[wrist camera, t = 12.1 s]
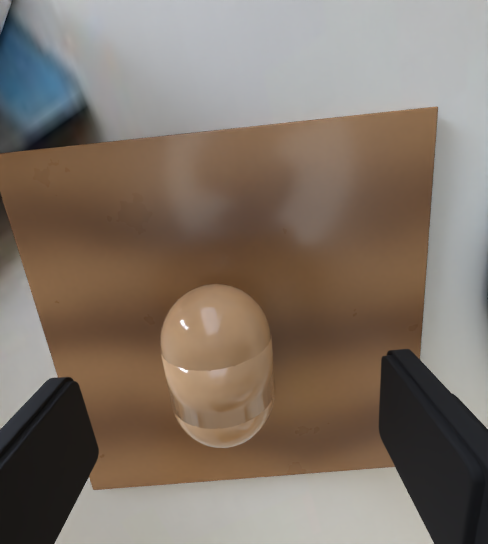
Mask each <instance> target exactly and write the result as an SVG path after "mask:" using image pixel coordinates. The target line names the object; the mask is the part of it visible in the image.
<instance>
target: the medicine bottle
mask: <svg viewBox="0 0 488 544" xmlns="http://www.w3.org/2000/svg"><path fill="white" fill-rule="evenodd" d="M11 2H12V0H0V35H1V32H2V29H3V26H4V23H5V20H6V17H7V14H8V11H9V8H10V5H11Z"/></svg>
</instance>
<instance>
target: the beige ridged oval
mask: <svg viewBox="0 0 488 544" xmlns="http://www.w3.org/2000/svg"><path fill="white" fill-rule="evenodd" d="M160 348H161V356H162V361H163V366H164V371H165V377H166V382H167V387H168V392H169V397H170V402H171V407H172V410H173V413H174V415H175V418H176V420H177V422H178V423H179V425H180V426H181V428H182V429H183V430H184V432H185V433H186V434H187V435H188V436H190V437H191V438H192V439H194V440H195V441H197V442H198V443H200V444H203V445H205V446H209V447H213V448H231V447H235V446H238V445H241V444H243V443H245V442H247V441H248V440H250V439H251V438H253V437H254V436H255V435H256V434H258V433H259V431H260V430H261V429H262V428H263V427H264V425H265V423H266V422H267V420H268V419H269V417H270V415H271V412H272V409H273V405H274V402H275V375H274V363H273V350H272V338H271V330H270V325H269V322H268V319H267V317H266V315H265V312H264V310H263V309H262V307H261V306H260V305H259V303H258V302H257V301H256V300H255V299H254V298H253V297H252V296H251V295H249V294H248V293H247V292H245V291H243V290H241V289H239V288H238V287H235V286H231V285H227V284H221V283H214V284H206V285H202V286H198V287H196V288H193V289H191V290H190V291H188V292H186V293H185V294H183V295H182V296H181V297H180V298H179V299H178V300H177V301H176V302H175V303H174V304H173V305H172V306H171V308H170V309H169V311H168V312H167V314H166V316H165V319H164V322H163V324H162V327H161V333H160Z"/></svg>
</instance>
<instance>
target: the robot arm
mask: <svg viewBox="0 0 488 544" xmlns="http://www.w3.org/2000/svg"><path fill="white" fill-rule="evenodd" d="M379 434H380V437H381V440H382V442H383V444H384V446H385V448H386V450H387V452H388V454H389V456H390V458H391V460H392V462H393V463H394V465H395V467H396V469H397V471H398V473H399V475H400V477H401V479H402V481H403V483H404V485H405V487H406V489H407V491H408V493H409V495H410V497H411V499H412V501H413V503H414V505H415V507H416V509H417V511H418V513H419V515H420V516H421V518H422V520H423V522H424V524H425V526H426V528H427V530H428V532H429V534H430V536H431V538H432V540H433V542H434V544H488V429H487V428H486V427H485V426H484V425H483V424H482V423H481V422H480V421H479V420H478V419H477V418H476V417H475V415H474V414H473V413H472V412H471V411H470V410H469V409H468V408H467V407H466V406H465V405H464V404H463V403H462V402H461V401H460V400H459V399H458V398H457V397H456V396H455V395H454V394H451V393H450V391H449V390H448V389H447V388H446V387H445V386H444V385H443V384H442V383H441V382H440V381H439V380H438V379H437V378H436V376H435V375H434V374H433V373H432V372H431V371H430V370H429V369H428V368H427V367H426V366H425V365H424V364H423V363H422V361H421V360H420V359H419V358H418V357H417V356H416V355H415V354H414V353H413V352H412V351H411V350H410V349H399V350H389V351H388V352H387V356H382V359H381V379H380V403H379ZM98 455H99V448H98V444H97V441H96V438H95V435H94V431H93V428H92V425H91V422H90V419H89V415H88V412H87V409H86V406H85V402H84V399H83V396H82V393H81V389H80V386H79V384H78V382H76V381H74V380H73V379H72V378H71V377H61V378H51V379H49V380H47V381H46V382H45V383H44V384H43V385H42V386H41V387H40V389H39V390H38V391H37V392H36V393H35V394H34V395H33V396H32V397H31V398H30V399H29V400H28V401H27V402H26V403H25V404H24V405H23V406H22V407H21V408H20V410H19V411H18V412H17V413H16V414H15V415H14V416H13V417H12V418H11V419H10V420H9V421H8V422H7V423H6V424H5V425H4V426H3V427H2V428H1V429H0V544H54V543H55V541H56V539H57V538H58V536H59V534H60V532H61V530H62V528H63V526H64V524H65V522H66V520H67V518H68V516H69V514H70V512H71V510H72V508H73V506H74V504H75V503H76V501H77V499H78V497H79V495H80V493H81V491H82V489H83V487H84V485H85V483H86V481H87V479H88V477H89V475H90V473H91V471H92V469H93V468H94V466H95V464H96V462H97V459H98Z"/></svg>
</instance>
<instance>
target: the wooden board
mask: <svg viewBox="0 0 488 544" xmlns="http://www.w3.org/2000/svg"><path fill="white" fill-rule="evenodd" d="M437 114H438V107H429V108H419V109H410V110H401V111H391V112H382V113H373V114H363V115H354V116H345V117H335V118H326V119H317V120H307V121H298V122H289V123H279V124H270V125H261V126H251V127H242V128H233V129H223V130H214V131H205V132H195V133H186V134H177V135H167V136H158V137H149V138H139V139H130V140H121V141H111V142H102V143H92V144H83V145H74V146H64V147H55V148H46V149H36V150H27V151H18V152H8V153H0V193H1V196H2V199H3V202H4V206H5V209H6V212H7V215H8V218H9V222H10V225H11V228H12V231H13V234H14V238H15V241H16V244H17V247H18V250H19V254H20V257H21V260H22V263H23V266H24V270H25V273H26V276H27V279H28V282H29V286H30V289H31V292H32V295H33V298H34V302H35V305H36V308H37V311H38V314H39V318H40V321H41V324H42V327H43V330H44V334H45V337H46V340H47V343H48V346H49V350H50V353H51V356H52V359H53V362H54V366H55V369H56V372H57V375H58V378H61V377H71V378H72V379H73V380H74V381H76V382H78V384H79V386H80V389H81V393H82V396H83V399H84V402H85V406H86V409H87V412H88V415H89V419H90V422H91V425H92V428H93V431H94V435H95V438H96V441H97V444H98V448H99V455H98V459H97V462H96V464H95V466H94V468H93V469H92V471H91V473H90V475H89V478H90V481H91V484H92V487H93V490H101V489H113V488H126V487H139V486H152V485H165V484H178V483H191V482H204V481H217V480H230V479H243V478H256V477H269V476H281V475H294V474H307V473H320V472H333V471H346V470H359V469H372V468H385V467H395V465H394V463H393V462H392V460H391V458H390V456H389V454H388V452H387V450H386V448H385V446H384V444H383V442H382V440H381V437H380V434H379V403H380V379H381V359H382V356H387V352H388V351H389V350H399V349H410V350H411V351H412V352H413V353H414V354H415V355H416V356H417V357H418V358H419V359H420V351H421V337H422V323H423V309H424V295H425V281H426V267H427V253H428V239H429V226H430V212H431V198H432V184H433V170H434V156H435V142H436V128H437ZM214 283H221V284H227V285H231V286H235V287H238V288H239V289H241V290H243V291H245V292H247V293H248V294H249V295H251V296H252V297H253V298H254V299H255V300H256V301H257V302H258V303H259V305H260V306H261V307H262V309H263V310H264V312H265V315H266V317H267V319H268V322H269V325H270V330H271V338H272V350H273V363H274V375H275V402H274V405H273V409H272V412H271V415H270V417H269V419H268V420H267V422H266V423H265V425H264V427H263V428H262V429H261V430H260V431H259V433H258V434H256V435H255V436H254V437H253V438H251V439H250V440H248V441H247V442H245V443H243V444H241V445H238V446H235V447H231V448H213V447H209V446H205V445H203V444H200V443H198V442H197V441H195V440H194V439H192V438H191V437H190V436H188V435H187V434H186V433H185V432H184V430H183V429H182V428H181V426H180V425H179V423H178V422H177V420H176V418H175V415H174V413H173V410H172V407H171V402H170V397H169V392H168V387H167V382H166V377H165V371H164V366H163V361H162V356H161V348H160V333H161V327H162V324H163V322H164V319H165V316H166V314H167V312H168V311H169V309H170V308H171V306H172V305H173V304H174V303H175V302H176V301H177V300H178V299H179V298H180V297H181V296H182V295H183V294H185V293H186V292H188V291H190V290H191V289H193V288H196V287H198V286H202V285H206V284H214Z"/></svg>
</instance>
